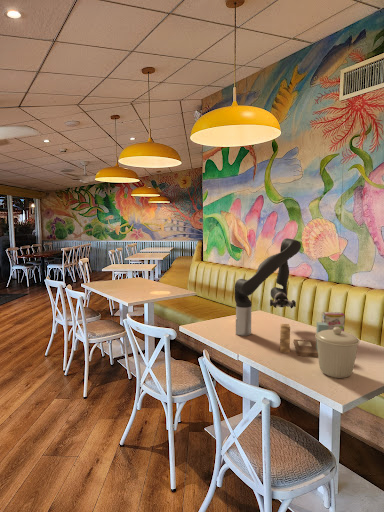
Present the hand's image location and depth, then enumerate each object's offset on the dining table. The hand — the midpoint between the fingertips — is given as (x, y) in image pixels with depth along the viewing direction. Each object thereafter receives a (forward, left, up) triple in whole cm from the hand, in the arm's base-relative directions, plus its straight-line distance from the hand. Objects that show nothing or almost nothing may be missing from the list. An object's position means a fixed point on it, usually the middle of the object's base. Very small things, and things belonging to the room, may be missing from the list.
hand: (283, 306), depth 182 cm
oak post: (0, -11, -21) cm, 24 cm away
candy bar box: (+28, +8, -21) cm, 36 cm away
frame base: (+14, -7, -21) cm, 26 cm away
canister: (+20, -33, -21) cm, 44 cm away
